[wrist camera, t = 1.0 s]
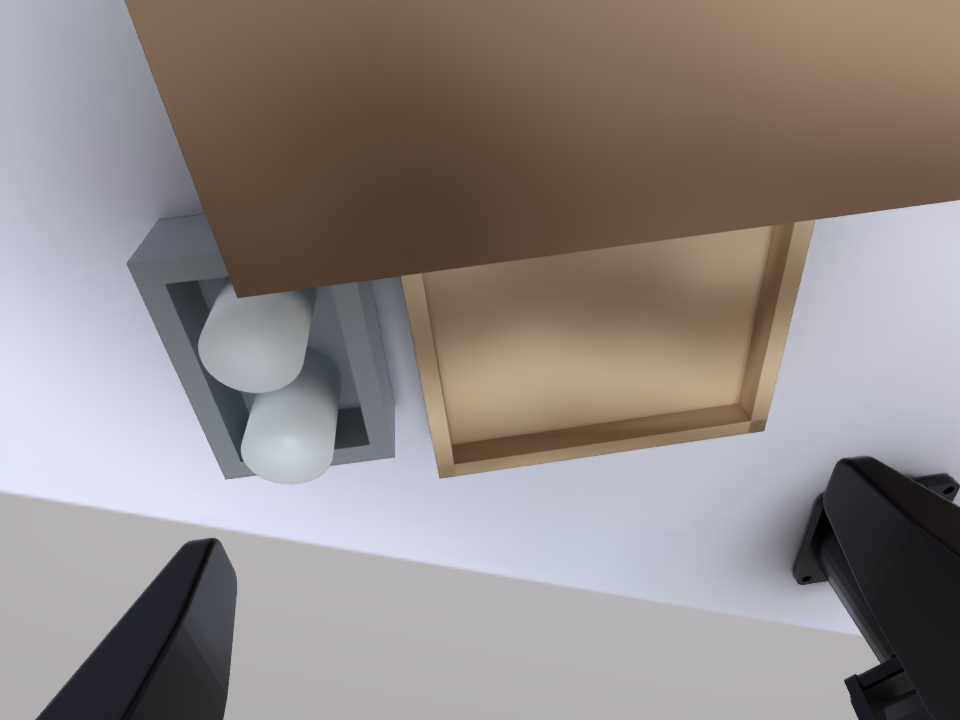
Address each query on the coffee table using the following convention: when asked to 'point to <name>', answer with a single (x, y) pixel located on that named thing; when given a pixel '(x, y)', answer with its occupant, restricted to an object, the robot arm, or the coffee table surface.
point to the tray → (225, 409)
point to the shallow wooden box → (604, 347)
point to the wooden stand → (542, 123)
